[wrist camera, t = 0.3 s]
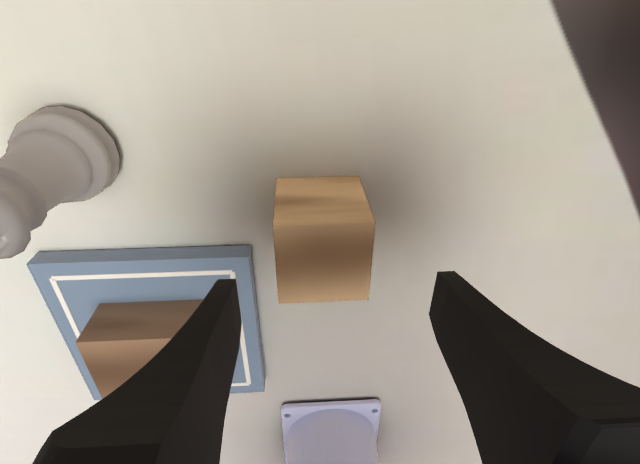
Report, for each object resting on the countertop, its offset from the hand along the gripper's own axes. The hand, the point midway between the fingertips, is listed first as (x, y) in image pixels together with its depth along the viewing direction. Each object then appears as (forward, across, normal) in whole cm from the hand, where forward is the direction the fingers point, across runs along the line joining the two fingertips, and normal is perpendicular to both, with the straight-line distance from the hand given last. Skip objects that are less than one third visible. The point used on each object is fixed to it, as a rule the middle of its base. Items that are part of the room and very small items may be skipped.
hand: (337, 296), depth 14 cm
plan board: (+9, +10, +9) cm, 16 cm away
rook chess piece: (+9, +12, -3) cm, 15 cm away
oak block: (+9, 0, +1) cm, 9 cm away
